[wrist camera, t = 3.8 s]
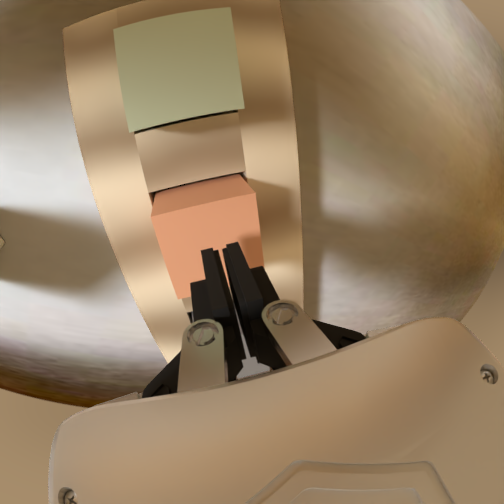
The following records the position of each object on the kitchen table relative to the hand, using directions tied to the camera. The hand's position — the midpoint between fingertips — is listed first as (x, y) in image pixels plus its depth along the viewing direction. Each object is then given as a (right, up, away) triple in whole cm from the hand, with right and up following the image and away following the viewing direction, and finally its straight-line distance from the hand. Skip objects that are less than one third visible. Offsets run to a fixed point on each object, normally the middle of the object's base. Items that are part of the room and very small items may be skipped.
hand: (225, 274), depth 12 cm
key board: (-2, +4, +6) cm, 8 cm away
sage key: (-3, +11, 0) cm, 11 cm away
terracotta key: (-2, +3, +5) cm, 6 cm away
